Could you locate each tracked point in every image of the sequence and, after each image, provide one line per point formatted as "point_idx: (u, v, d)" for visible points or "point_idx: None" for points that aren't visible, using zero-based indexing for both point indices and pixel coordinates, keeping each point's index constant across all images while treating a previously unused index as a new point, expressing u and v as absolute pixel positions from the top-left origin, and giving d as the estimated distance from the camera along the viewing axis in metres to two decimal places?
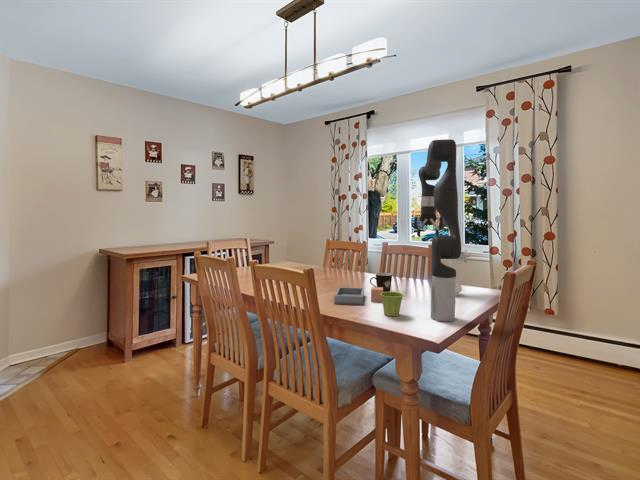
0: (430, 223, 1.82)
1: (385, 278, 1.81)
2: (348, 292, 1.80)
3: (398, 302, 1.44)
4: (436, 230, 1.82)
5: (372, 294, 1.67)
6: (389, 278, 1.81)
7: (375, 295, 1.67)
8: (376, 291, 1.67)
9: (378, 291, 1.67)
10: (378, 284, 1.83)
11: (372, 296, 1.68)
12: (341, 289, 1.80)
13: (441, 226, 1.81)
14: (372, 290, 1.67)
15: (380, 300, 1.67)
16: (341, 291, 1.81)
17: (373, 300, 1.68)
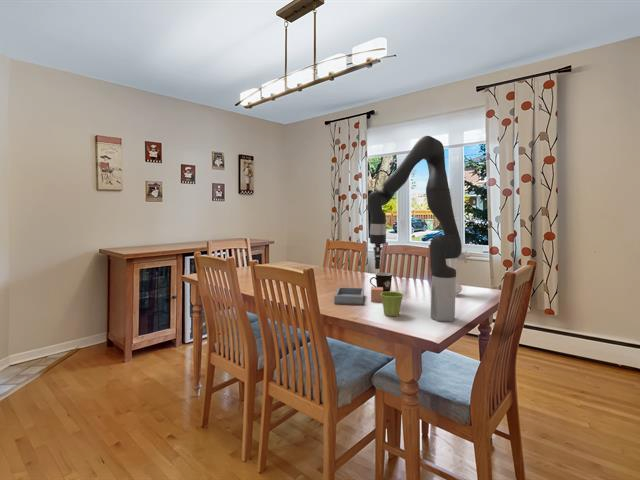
0: None
1: (385, 278, 1.81)
2: (348, 292, 1.80)
3: (398, 302, 1.44)
4: None
5: (372, 294, 1.67)
6: (389, 278, 1.81)
7: (375, 295, 1.67)
8: (376, 291, 1.67)
9: (378, 291, 1.67)
10: (378, 284, 1.83)
11: (372, 296, 1.68)
12: (341, 289, 1.80)
13: None
14: (372, 290, 1.67)
15: (380, 300, 1.67)
16: (341, 291, 1.81)
17: (373, 300, 1.68)
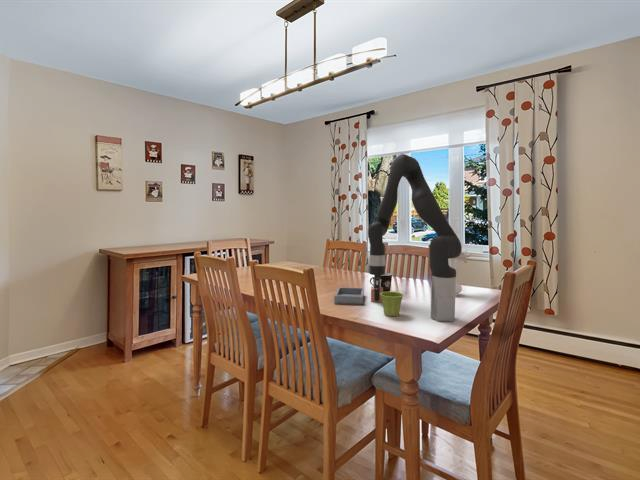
0: None
1: (385, 278, 1.81)
2: (348, 292, 1.80)
3: (398, 302, 1.44)
4: None
5: (372, 294, 1.67)
6: (389, 278, 1.81)
7: None
8: None
9: None
10: None
11: (372, 296, 1.68)
12: (341, 289, 1.80)
13: None
14: (372, 290, 1.67)
15: (380, 300, 1.67)
16: (341, 291, 1.81)
17: (373, 300, 1.68)
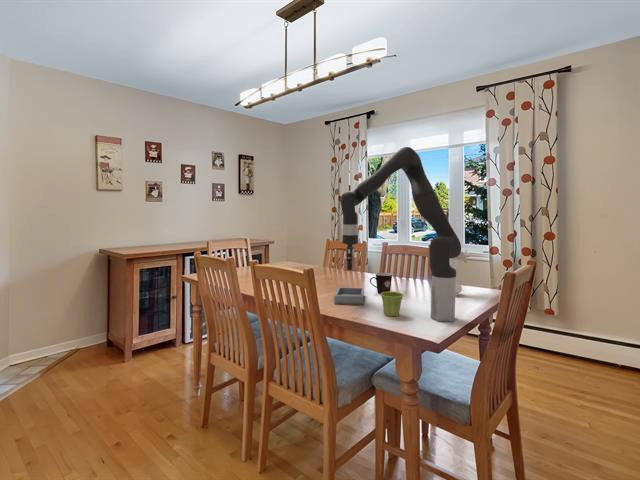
0: None
1: (385, 278, 1.81)
2: (348, 292, 1.80)
3: (398, 302, 1.44)
4: None
5: (345, 263, 1.68)
6: (389, 278, 1.81)
7: None
8: None
9: None
10: (378, 284, 1.83)
11: (345, 265, 1.68)
12: (341, 289, 1.80)
13: None
14: (345, 259, 1.68)
15: (353, 269, 1.68)
16: (341, 291, 1.81)
17: (346, 269, 1.68)
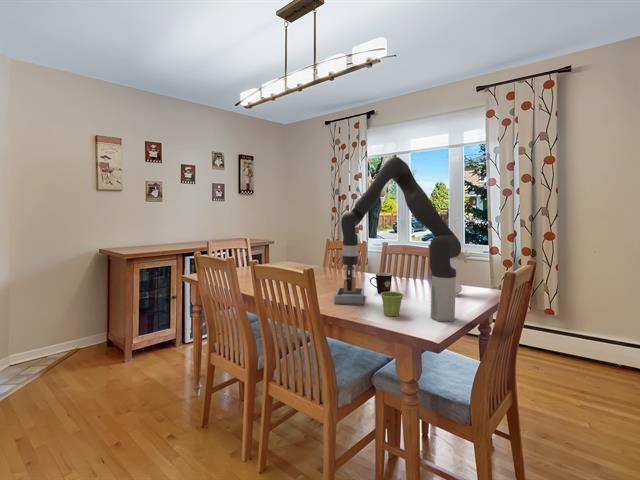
0: (352, 272, 1.72)
1: (385, 278, 1.81)
2: (348, 292, 1.80)
3: (398, 302, 1.44)
4: None
5: (345, 284, 1.69)
6: (389, 278, 1.81)
7: None
8: None
9: None
10: (378, 284, 1.83)
11: (345, 286, 1.69)
12: (341, 289, 1.80)
13: (353, 275, 1.76)
14: (345, 280, 1.69)
15: (352, 290, 1.69)
16: (341, 291, 1.81)
17: (346, 290, 1.69)
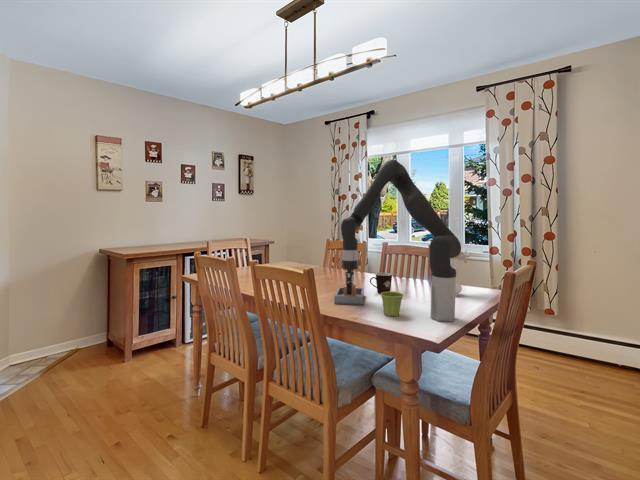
0: (352, 277, 1.72)
1: (385, 278, 1.81)
2: None
3: (398, 302, 1.44)
4: (352, 283, 1.75)
5: (345, 291, 1.69)
6: (389, 278, 1.81)
7: None
8: None
9: None
10: (378, 284, 1.83)
11: (345, 293, 1.69)
12: (341, 289, 1.80)
13: None
14: (345, 287, 1.69)
15: None
16: (341, 291, 1.81)
17: None
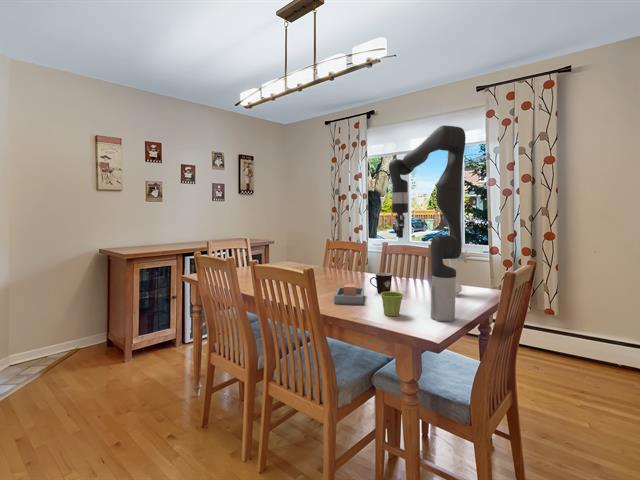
0: None
1: (385, 278, 1.81)
2: None
3: (398, 302, 1.44)
4: None
5: (345, 291, 1.69)
6: (389, 278, 1.81)
7: (348, 292, 1.69)
8: (348, 288, 1.69)
9: (350, 288, 1.69)
10: (378, 284, 1.83)
11: (345, 293, 1.69)
12: (341, 289, 1.80)
13: None
14: (345, 287, 1.69)
15: None
16: (341, 291, 1.81)
17: None
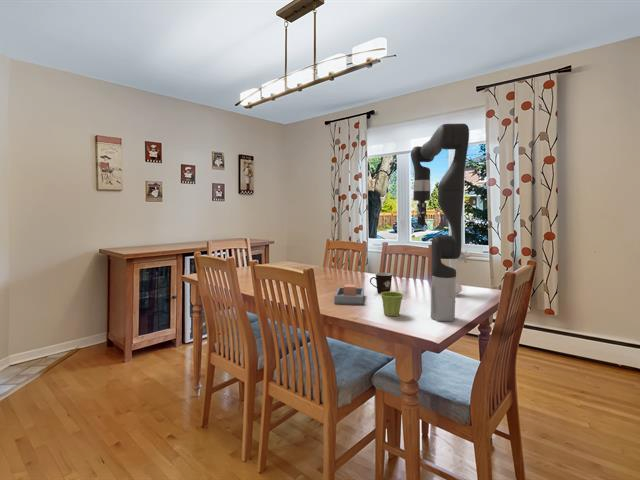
0: None
1: (385, 278, 1.81)
2: None
3: (398, 302, 1.44)
4: None
5: (345, 291, 1.69)
6: (389, 278, 1.81)
7: (348, 292, 1.69)
8: (348, 288, 1.69)
9: (350, 288, 1.69)
10: (378, 284, 1.83)
11: (345, 293, 1.69)
12: (341, 289, 1.80)
13: None
14: (345, 287, 1.69)
15: None
16: (341, 291, 1.81)
17: None
